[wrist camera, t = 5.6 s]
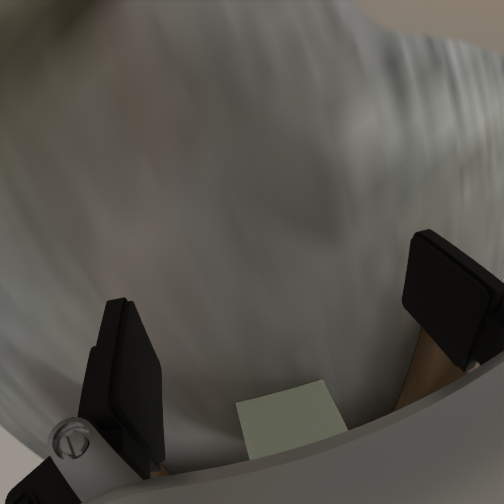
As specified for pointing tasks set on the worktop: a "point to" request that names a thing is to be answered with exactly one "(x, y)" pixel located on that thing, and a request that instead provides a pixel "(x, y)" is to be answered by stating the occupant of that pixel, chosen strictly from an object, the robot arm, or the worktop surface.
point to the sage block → (289, 419)
